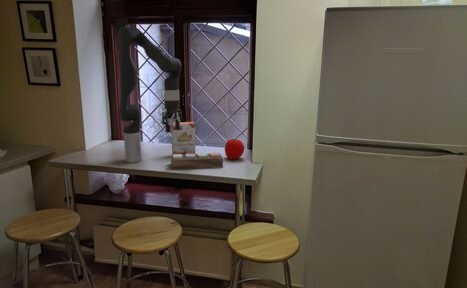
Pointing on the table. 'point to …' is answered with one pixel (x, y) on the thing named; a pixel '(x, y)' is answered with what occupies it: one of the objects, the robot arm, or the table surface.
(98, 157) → the table surface
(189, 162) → the brown long block
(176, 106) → the robot arm
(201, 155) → the sage key
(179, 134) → the cracker box
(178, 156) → the ivory key
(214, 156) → the terracotta key
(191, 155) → the grey key
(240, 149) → the red apple
